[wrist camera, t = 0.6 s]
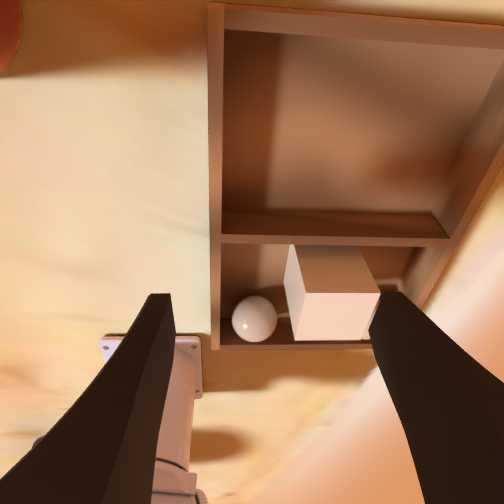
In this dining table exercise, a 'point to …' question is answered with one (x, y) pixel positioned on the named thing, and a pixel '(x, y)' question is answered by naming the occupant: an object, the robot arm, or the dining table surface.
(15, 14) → the soda can
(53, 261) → the dining table surface
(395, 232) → the caddy
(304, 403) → the dining table surface
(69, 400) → the dining table surface
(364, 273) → the white block
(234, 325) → the pebble
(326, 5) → the dining table surface
